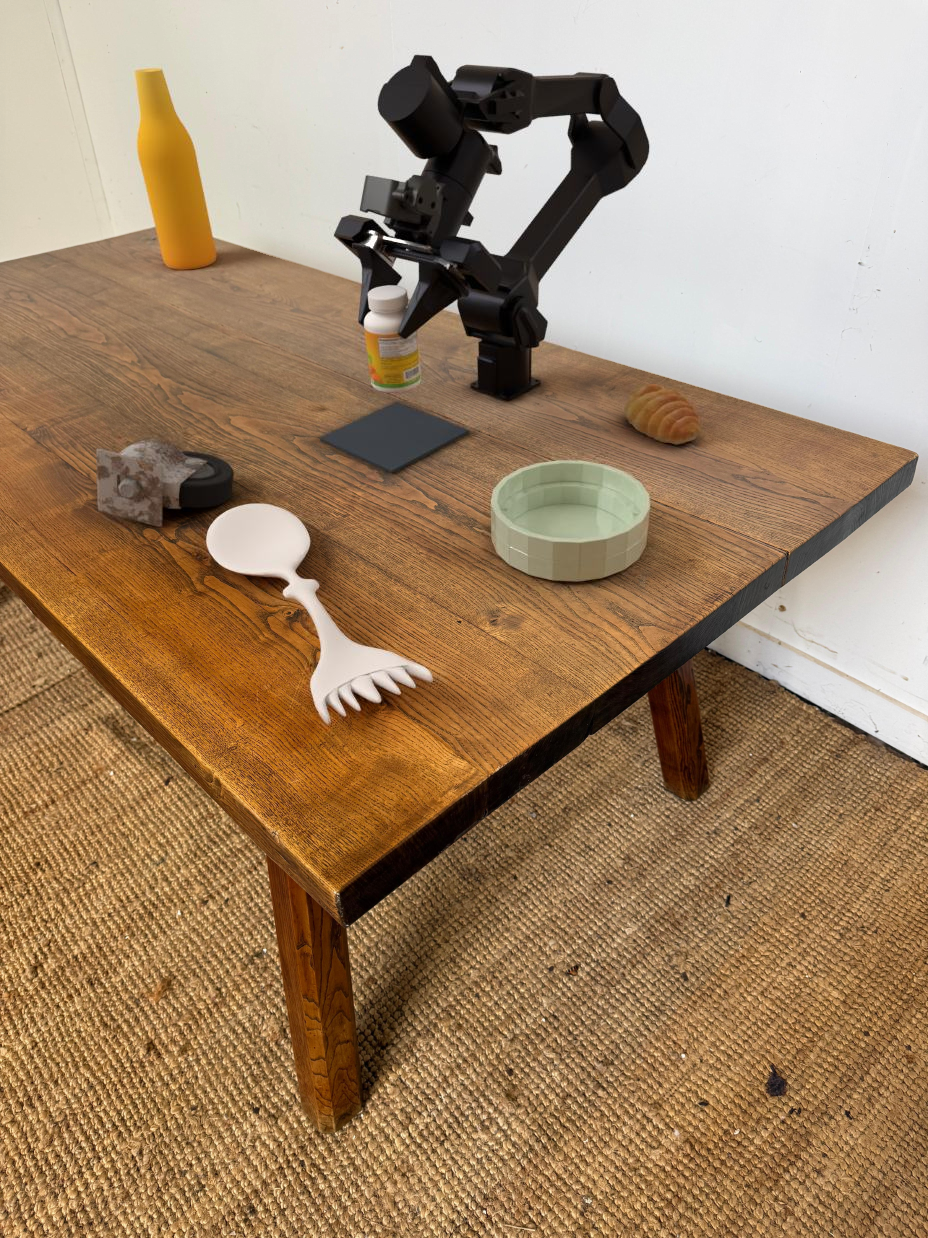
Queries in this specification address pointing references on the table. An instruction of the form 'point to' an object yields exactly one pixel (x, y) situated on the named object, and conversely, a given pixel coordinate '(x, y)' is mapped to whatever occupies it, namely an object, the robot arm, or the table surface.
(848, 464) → the table surface
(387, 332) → the supplement bottle
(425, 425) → the mat
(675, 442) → the pastry
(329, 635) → the spoon
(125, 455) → the caster wheel
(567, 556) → the bowl
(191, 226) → the beer bottle
